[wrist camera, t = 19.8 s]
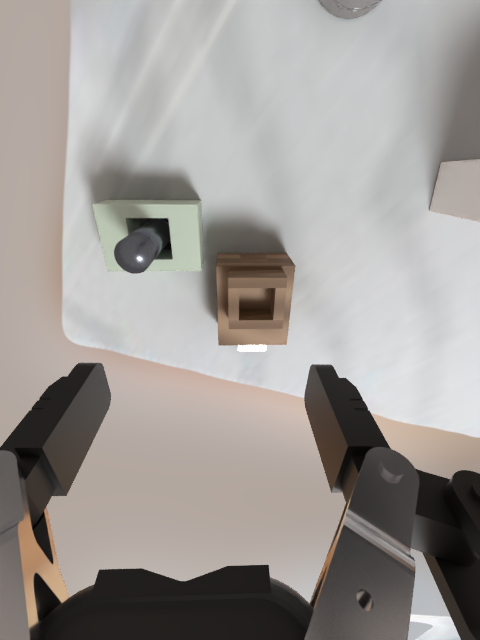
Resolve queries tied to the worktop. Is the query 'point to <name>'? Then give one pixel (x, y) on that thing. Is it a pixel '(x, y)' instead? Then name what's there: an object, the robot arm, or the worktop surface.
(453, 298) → the worktop surface
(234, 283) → the socket block
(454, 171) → the milk
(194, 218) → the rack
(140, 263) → the grey peg
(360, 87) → the worktop surface
